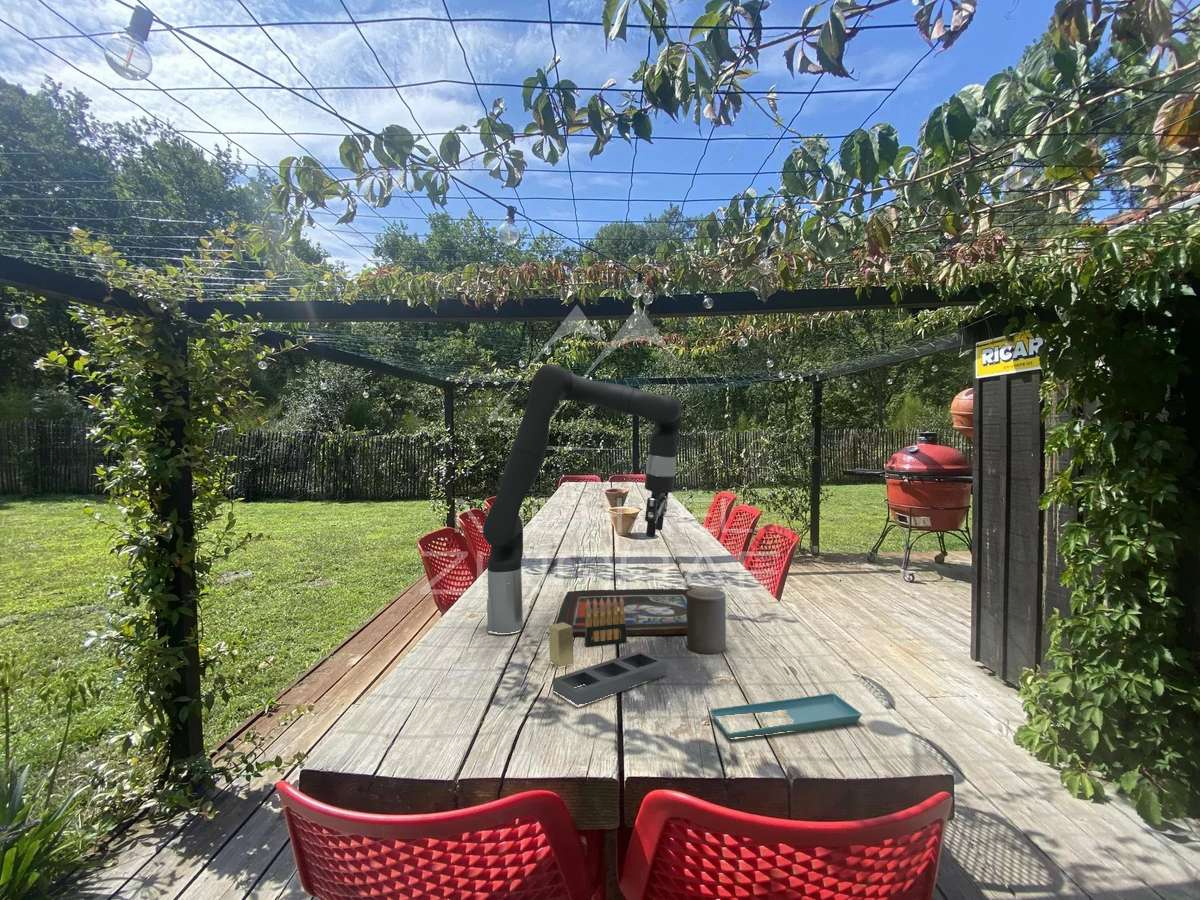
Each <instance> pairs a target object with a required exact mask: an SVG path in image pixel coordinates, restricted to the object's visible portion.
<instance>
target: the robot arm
mask: <svg viewBox="0 0 1200 900" xmlns="http://www.w3.org/2000/svg"><path fill="white" fill-rule="evenodd" d="M558 401H571V402H572V401H573V402H581V403H588V404H591V405H594V406H598V407H601V408H604V409H608V410H611V411H614V412H618V413H622V414H627V415H630V416H637V417H640V418H644V419H646V420H649V421H652V422H654V427H653V432H652V434H651V436H650V440H649V450H648V457H647V462H646V468H645V481H644V489H645V490H647V491H649V492H651V494H650V497H647V499H646V509H645V517H644V522H646V523H647V524H646V533H645V536H646V537H648V538H652V539H653V538H655V537H656V531H661V530H663V526H664V517H665V515H666V513H667V512H668V499H669V498H668V497H669V493H672V492H673V491H674V488H675V487H674V486H675V477H676V469H677V467H676V466H677V460H676V459H677V449H678V436H679V431H680V427H681V422H682V415H683V406H682V403H681V401H680V400H679V399H678V398H677V397H675V396H674V395H664V394H658V393H653V392H648V391H645V390H643V389H641V388H635V387H633V386H632V387H631V386H628V385H623V384H617V383H613V382H612V383H611V382H605V381H603V382H602V381H599V380H597V381H596V380H592V379H589V378H584V377H582V376H579V375H578V374H576V373H573V372H570V371H568V370H567V369H565V368H564V367H562V366H559V365H557V364H554V363H545V364H543V365H542V366H540V367H539V368H538V369H537V370H536V372H535V374H534V375H533V379H532V382H531V386H530V391H529V394H528V398H527V404H526V407H525V411H524V413H523V416H522V418H521V421H520V424H519V427H518V430H517V433H516V435H515V439H514V440H513V443H512V446H511V449H510V452H509V454H508V459H507V462H506V465H505V467H504V471H503V473H502V477H501V481H500V483H499V484H500V485H499V488H498V490H497V493H496V496H495V498H494V501H493V503H492V504H491V507H490V509H489V511H488V514H487V515H486V517H485V518H484V522H483V525H482V534H483V537H484V539H485V541H486V543H487V544H489V545H490V546H491V547H490V552H489V557H488V558H487V562H486V563H487V564H486V565H487V593H488V594H487V595H488V596H487V599H486V610H487V613H486V615H487V616H486V619H487V632H488V631H492V632H497V633H511V632H516V631H519V630H521V629H522V628H523V629H524V618H523V616H524V615H523V584H522V580H523V579H522V559H523V555H524V524H523V522H522V518H521V516H520V511H521V508H522V504H523V502H524V500H525V498H526V496H527V494H528V493H529V491H530V490H531V488H532V487H533V485H534V483H535V481H536V479H537V477H538V476H539V474H540V471H541V470H542V467H543V466H542V465H543V464H544V460H545V457H546V456H547V452H548V451H547V450H548V444H549V436H550V435H549V434H550V433H549V432H550V423H551V417H552V416H553V412H554V411H555V408H556V404H557V402H558ZM651 515H652V516H651Z"/></svg>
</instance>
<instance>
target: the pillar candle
mask: <svg viewBox="0 0 1200 900" xmlns="http://www.w3.org/2000/svg"><path fill="white" fill-rule="evenodd" d="M690 589H691V590H689V591H688V592H687V634H686V649H688V650H689V651H691V652H692V653H696V654H701V655H717V654H721V653H723V652H725V651H726V649H725V648H727V646H726V645H727V643H726V636H727V635H726V634H727V633H726V632H727V631H726V629H727V626H726V625H727V623H726V621H727V619H726V609H727V608H726V597H727V594H726V593H725V592H724V591H722V590H719V589H715V588H707V587H701V588H699V587H698V588H696V589H693V588H690Z"/></svg>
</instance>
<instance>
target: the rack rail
mask: <svg viewBox="0 0 1200 900" xmlns="http://www.w3.org/2000/svg"><path fill="white" fill-rule="evenodd" d="M639 666H640V667H639ZM641 666H642V667H641ZM636 667H637V668H636ZM613 675H614V676H613ZM665 675H666V676H667V661H664V660H662V659H660V658H658V657H655V656H652V655H650V654H648V653H647V652H646V653H645V652H643V651H641V650H637V651H634V652H631V653H627V654H625V655H621V656H618V657H616V658H613V659H609V660H606V661H603V662H600V663H597V664H594V665H590V666H588V667H584V668H582V669H579V670H575V671H572V672H569V673H567V674H562V675H560V676H557V677H554V678H552V692H553V691H555V692H557V693H558V694H560V695H562V696H564V697H565V698H567V699H569V700H571V701H572V702H574V703H575V704H577V705H579V704H585V703H589V702H592V701H595V700H597V699H600V698H603V697H605V696H608V695H611V694H615V693H618V694H620V693H619V692H621V691H623V690H625V689H628V688H629V687H632V686H634V685H636V684H639V683H642V682H645V681H649V680H653V679H656V680H658V679H661V678H663V677H662V676H664V677H666V676H665ZM607 677H608V678H607ZM660 677H661V678H660ZM657 678H658V679H657ZM653 681H654V680H653ZM583 684H585V685H586V686H583V687H580V688H577V689H576V688H574V687H577V686H580V685H583ZM623 692H624V691H623ZM621 693H622V692H621ZM615 695H616V694H615Z"/></svg>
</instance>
